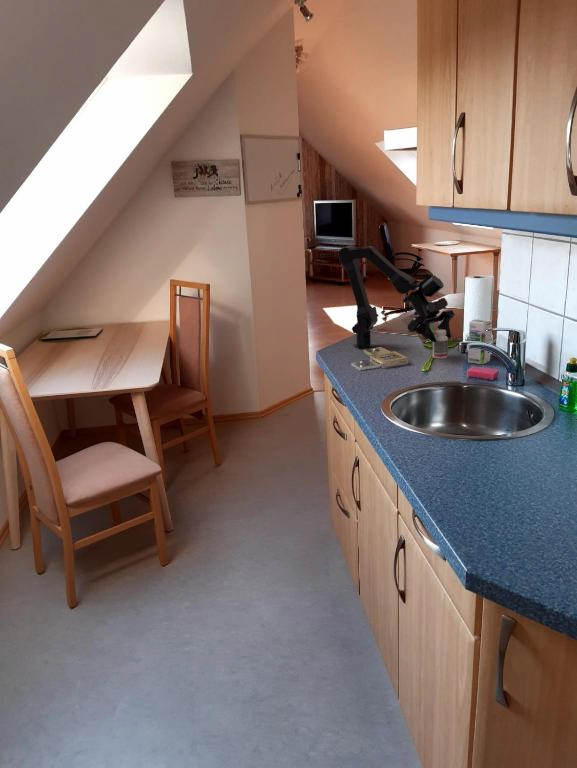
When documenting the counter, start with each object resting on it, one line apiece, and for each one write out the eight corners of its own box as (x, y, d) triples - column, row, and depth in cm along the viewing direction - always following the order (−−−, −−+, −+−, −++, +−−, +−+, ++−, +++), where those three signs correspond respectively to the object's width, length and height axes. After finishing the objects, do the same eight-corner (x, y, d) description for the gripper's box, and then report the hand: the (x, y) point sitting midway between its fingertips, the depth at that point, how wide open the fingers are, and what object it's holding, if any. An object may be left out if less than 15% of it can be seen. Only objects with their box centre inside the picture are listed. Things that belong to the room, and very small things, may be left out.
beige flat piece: (340, 359, 225) (339, 351, 224) (383, 352, 230) (383, 344, 229) (361, 371, 208) (361, 363, 207) (408, 363, 214) (408, 356, 213)
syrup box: (467, 362, 211) (468, 321, 206) (475, 358, 215) (476, 318, 210) (482, 365, 207) (484, 323, 202) (490, 360, 211) (492, 319, 206)
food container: (439, 343, 237) (439, 318, 234) (423, 344, 237) (423, 319, 234) (432, 336, 249) (432, 312, 245) (417, 337, 249) (417, 312, 246)
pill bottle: (450, 357, 218) (451, 330, 215) (438, 359, 216) (438, 333, 213) (441, 354, 223) (441, 328, 220) (429, 356, 221) (429, 330, 218)
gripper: (412, 295, 211) (435, 331, 205) (451, 287, 220) (474, 322, 214) (397, 314, 220) (419, 349, 214) (435, 306, 229) (457, 340, 223)
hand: (443, 339), depth 216 cm, fingers open, 7 cm apart
